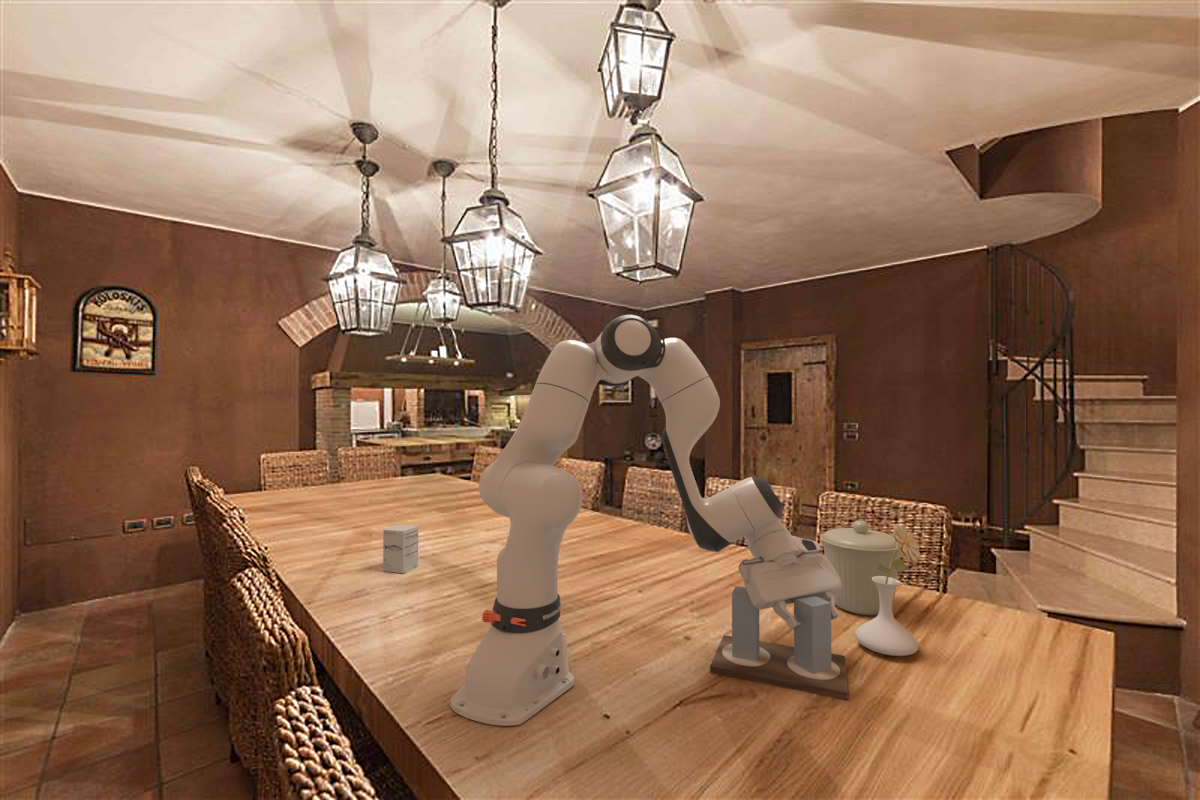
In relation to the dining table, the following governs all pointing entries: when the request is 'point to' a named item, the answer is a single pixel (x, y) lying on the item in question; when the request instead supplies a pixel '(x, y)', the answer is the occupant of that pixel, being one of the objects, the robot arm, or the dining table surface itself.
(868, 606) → the canister
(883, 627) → the flower in vase
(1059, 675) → the dining table surface
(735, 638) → the pin
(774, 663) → the board
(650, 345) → the robot arm
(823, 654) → the gray rectangular block
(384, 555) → the supplement box
